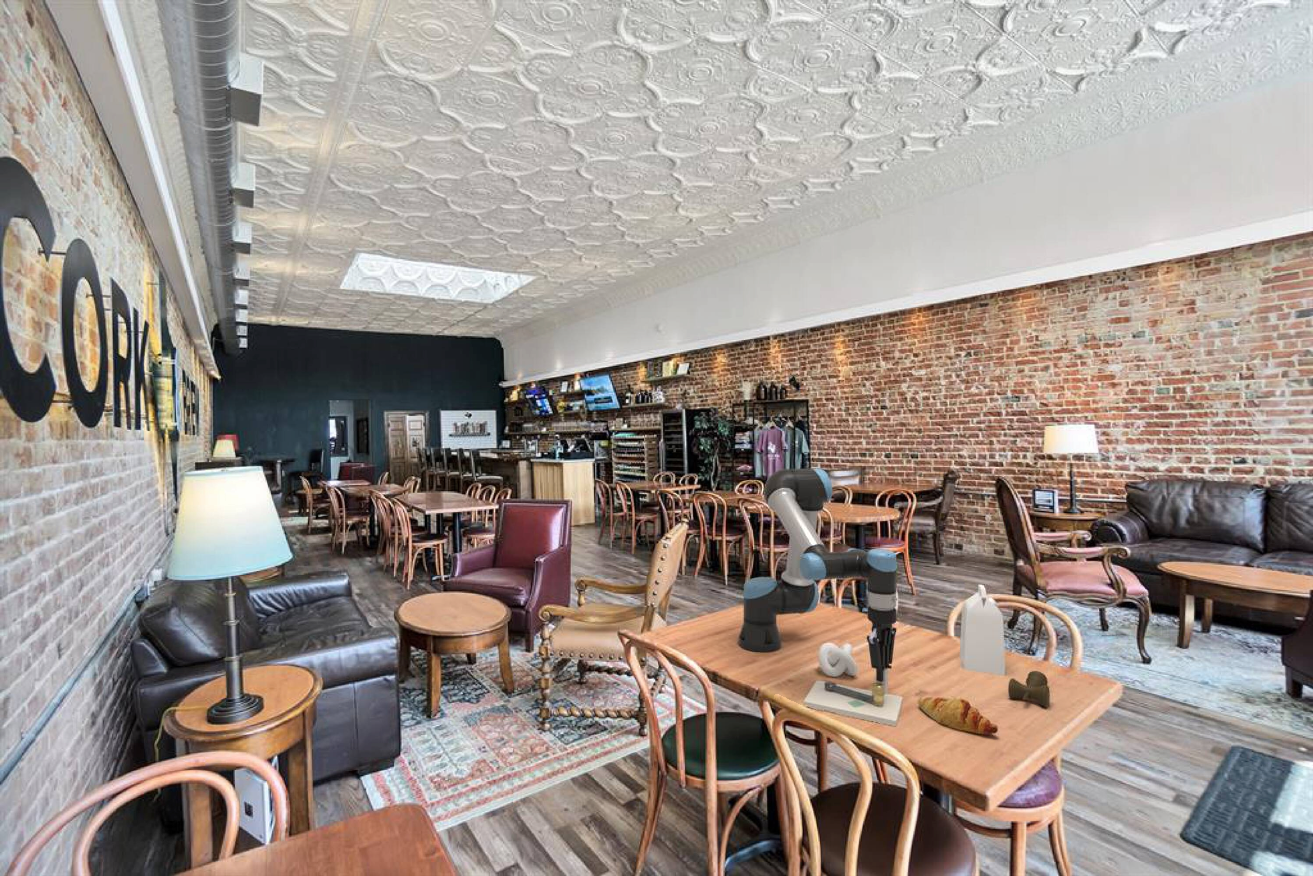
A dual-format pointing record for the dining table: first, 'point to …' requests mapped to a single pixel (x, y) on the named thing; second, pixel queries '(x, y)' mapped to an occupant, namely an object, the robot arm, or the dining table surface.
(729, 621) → the dining table surface
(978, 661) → the milk
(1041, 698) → the kendama
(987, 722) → the croissant
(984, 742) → the dining table surface
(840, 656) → the white knot sculpture
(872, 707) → the board
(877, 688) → the grey crank handle
